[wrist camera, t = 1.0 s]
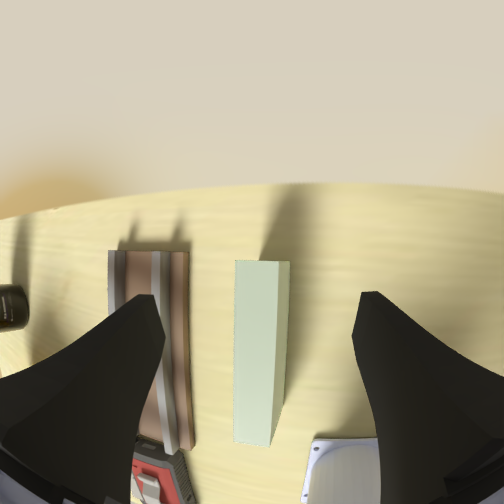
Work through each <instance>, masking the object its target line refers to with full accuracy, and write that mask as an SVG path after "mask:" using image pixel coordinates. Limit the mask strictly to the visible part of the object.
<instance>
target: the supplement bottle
mask: <svg viewBox="0 0 504 504" xmlns="http://www.w3.org/2000/svg"><path fill="white" fill-rule="evenodd" d="M27 322H28V304H27V299H26V296H25V293H24V291H23V289H22V288H21V287H20V286H19V285H17V284H0V333H1V332H8V331H15V330H21V329H23V328H24V327H25V326H26V325H27Z"/></svg>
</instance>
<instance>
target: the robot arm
mask: <svg viewBox="0 0 504 504" xmlns="http://www.w3.org/2000/svg"><path fill="white" fill-rule="evenodd" d="M165 339H166V335H165V332H164V329H163V326H162V322H161V319H160V315H159V312H158V308H157V305H156V301H155V298H154V295H152V294H138V295H136V296H135V297H133V298H132V299H131V300H129V301H128V302H126V303H125V304H124V305H123V306H121V307H120V308H119V309H117V310H116V311H115V312H113V313H112V314H111V315H110V316H108V317H107V318H106V319H104V320H103V321H102V322H101V323H99V324H98V325H97V326H95V327H94V328H93V329H91V330H90V331H88V332H87V333H86V334H84V335H83V336H82V337H80V338H79V339H77V340H76V341H75V342H73V343H72V344H70V345H69V346H67V347H66V348H64V349H62V350H61V351H59V352H57V353H56V354H54V355H52V356H50V357H49V358H47V359H45V360H43V361H41V362H39V363H37V364H35V365H33V366H31V367H29V368H27V369H24V370H22V371H20V372H17V373H15V374H12V375H9V376H6V377H4V378H1V379H0V504H130V493H131V473H132V462H133V455H134V448H135V442H136V436H137V431H138V426H139V422H140V418H141V414H142V411H143V408H144V405H145V402H146V399H147V397H148V394H149V391H150V388H151V386H152V383H153V380H154V378H155V375H156V372H157V369H158V367H159V364H160V361H161V357H162V353H163V349H164V344H165ZM352 340H353V345H354V351H355V356H356V360H357V364H358V367H359V370H360V373H361V376H362V379H363V382H364V385H365V389H366V392H367V395H368V398H369V401H370V405H371V408H372V412H373V416H374V420H375V426H376V433H377V438H364V439H319V438H318V439H314V440H313V441H312V444H311V450H310V455H309V461H308V466H307V471H306V476H305V481H304V485H303V490H302V495H301V499H300V501H301V502H302V503H307V504H504V377H503V376H500V375H498V374H496V373H494V372H492V371H489V370H488V369H486V368H484V367H482V366H480V365H478V364H476V363H474V362H472V361H471V360H469V359H467V358H465V357H464V356H462V355H461V354H459V353H457V352H456V351H454V350H453V349H451V348H450V347H448V346H447V345H445V344H444V343H442V342H441V341H440V340H438V339H437V338H436V337H434V336H433V335H432V334H430V333H429V332H428V331H426V330H425V329H424V328H423V327H421V326H420V325H419V324H418V323H416V322H415V321H414V320H413V319H411V318H410V317H409V316H408V315H407V314H405V313H404V312H403V311H402V310H401V309H399V308H398V307H397V306H396V305H395V304H393V303H392V302H391V301H390V300H388V299H387V298H386V297H385V296H383V295H382V294H381V293H379V292H378V291H372V292H361V297H360V302H359V307H358V311H357V316H356V320H355V324H354V329H353V333H352ZM315 447H319V448H317V449H316V448H315Z"/></svg>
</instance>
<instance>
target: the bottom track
mask: <svg viewBox="0 0 504 504" xmlns="http://www.w3.org/2000/svg"><path fill="white" fill-rule="evenodd" d="M188 271H189V253H188V252H164V251H152V252H150V251H117V250H108V311H109V316H110V315H111V314H112V313H113V312H115V311H116V310H117V309H119V308H120V307H121V306H123V305H124V304H125V303H126V302H128V301H129V300H131V299H132V298H133V297H135V296H136V295H138V294H152V295H154V298H155V301H156V305H157V308H158V312H159V315H160V319H161V322H162V326H163V329H164V332H165V335H166V339H165V344H164V349H163V353H162V357H161V361H160V364H159V367H158V369H157V372H156V375H155V378H154V380H153V383H152V386H151V388H150V391H149V394H148V397H147V399H146V402H145V405H144V408H143V411H142V414H141V418H140V422H139V426H138V431H137V436H138V435H139V434H141V435H144V436H146V437H149V438H152V439H155V440H158V441H161V442H164V448H165V453H167V454H170V455H174V454H175V452H176V451H177V450H178V449H179V448H183V449H186V450H190V451H191V450H192V449H193V448H194V446H195V441H194V430H193V417H192V403H191V387H190V366H189V332H188ZM137 436H136V437H137Z"/></svg>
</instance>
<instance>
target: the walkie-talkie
mask: <svg viewBox="0 0 504 504" xmlns="http://www.w3.org/2000/svg"><path fill="white" fill-rule="evenodd" d="M186 469H187V467H186V464H185V461H184V457H183V454H182V453H181V452H180V451H179V450H177V451H176V452H175V454H174V455H170V454H167V453H165V448H164V445H161V444H158V443H154V442H151V441H148V440H145V439H142V438H139V437H136V442H135V448H134V455H133V462H132V473H131V491H132V495H133V497H136V498H138V499H140V501H141V502H142V503H143V504H196V501H195V497H194V494H193V490H192V488H191V485H190V484H191V483H190V482H189V481H190V480H189V477H188V473H187V472H188V471H187V470H186Z"/></svg>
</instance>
